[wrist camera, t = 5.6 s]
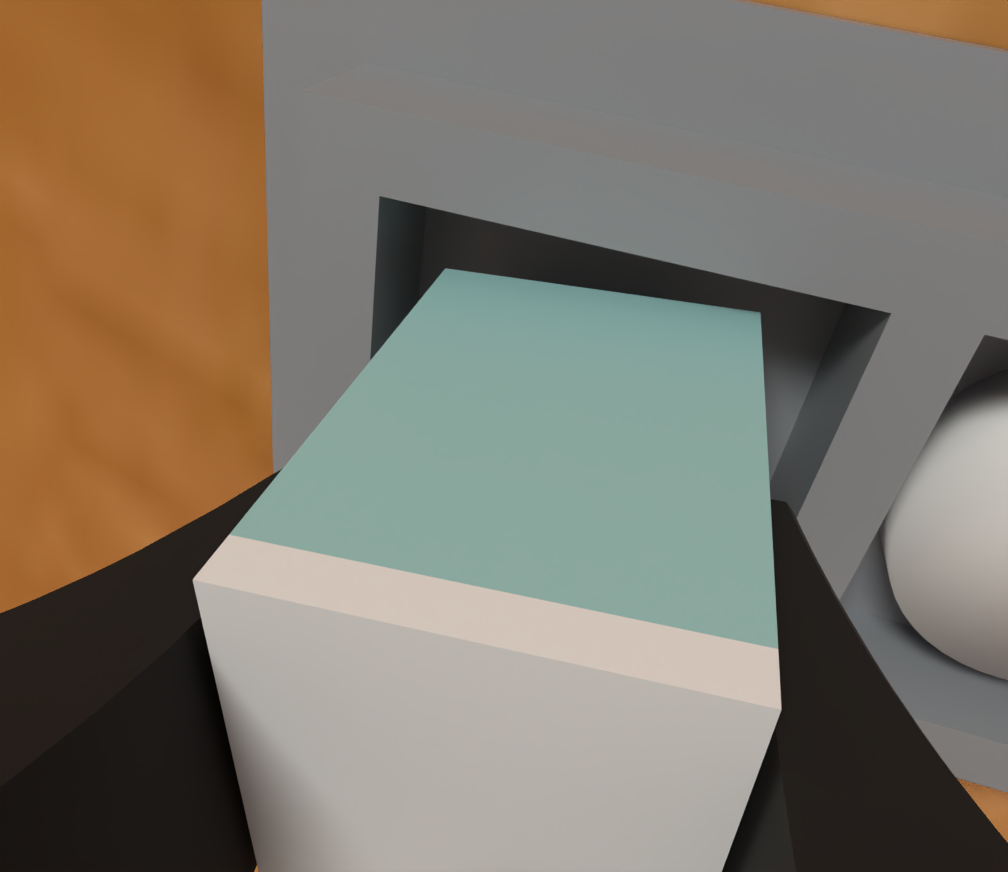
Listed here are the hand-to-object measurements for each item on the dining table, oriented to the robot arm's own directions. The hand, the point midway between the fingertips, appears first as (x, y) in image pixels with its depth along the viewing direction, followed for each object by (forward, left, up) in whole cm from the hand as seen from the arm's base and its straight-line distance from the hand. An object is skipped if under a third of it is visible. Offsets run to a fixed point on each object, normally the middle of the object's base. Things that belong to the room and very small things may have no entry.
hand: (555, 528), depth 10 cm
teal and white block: (0, 0, -2) cm, 2 cm away
